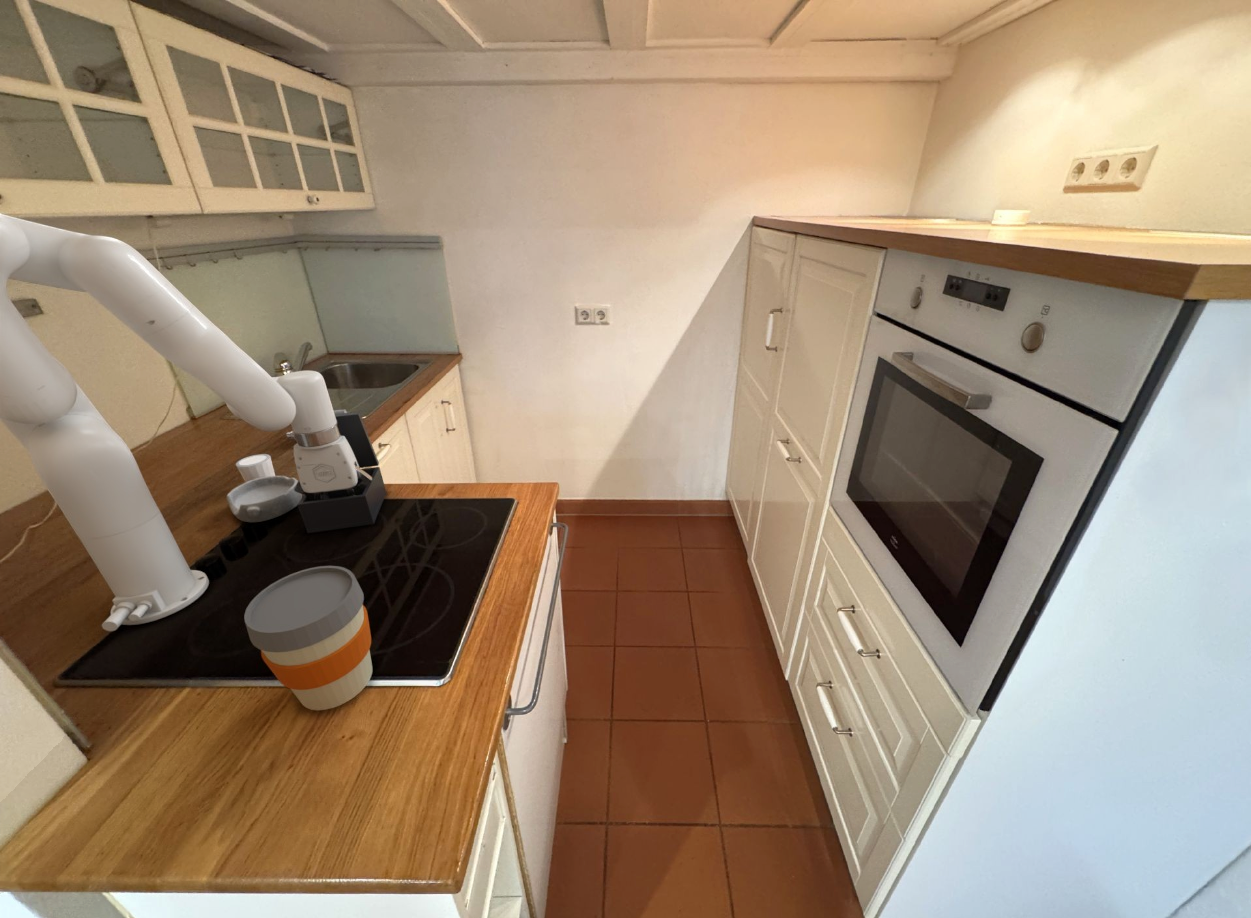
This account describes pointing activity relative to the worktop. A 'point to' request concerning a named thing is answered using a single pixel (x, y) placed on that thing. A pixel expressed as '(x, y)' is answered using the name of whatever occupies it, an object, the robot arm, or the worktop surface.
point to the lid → (356, 437)
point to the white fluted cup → (255, 467)
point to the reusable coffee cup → (314, 635)
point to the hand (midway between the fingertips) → (343, 513)
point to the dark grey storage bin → (344, 506)
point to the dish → (263, 498)
